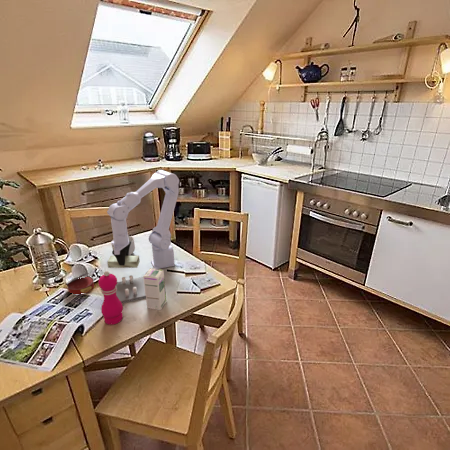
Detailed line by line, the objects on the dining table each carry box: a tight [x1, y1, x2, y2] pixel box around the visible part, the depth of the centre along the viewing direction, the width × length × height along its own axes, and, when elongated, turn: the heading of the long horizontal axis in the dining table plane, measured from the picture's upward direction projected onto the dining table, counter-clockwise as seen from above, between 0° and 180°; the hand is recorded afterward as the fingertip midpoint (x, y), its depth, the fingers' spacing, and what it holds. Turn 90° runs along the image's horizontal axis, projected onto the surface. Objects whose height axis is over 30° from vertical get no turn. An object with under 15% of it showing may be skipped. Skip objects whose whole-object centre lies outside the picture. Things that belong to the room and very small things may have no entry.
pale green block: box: [107, 255, 140, 269], centre depth 133 cm, size 12×5×3 cm, turn 92°
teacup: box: [110, 235, 136, 256], centre depth 156 cm, size 14×11×8 cm
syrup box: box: [142, 267, 167, 311], centre depth 117 cm, size 6×6×14 cm
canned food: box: [65, 272, 95, 294], centre depth 128 cm, size 11×10×10 cm
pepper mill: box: [98, 270, 124, 326], centre depth 108 cm, size 7×7×20 cm
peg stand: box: [116, 274, 146, 304], centre depth 127 cm, size 18×14×4 cm
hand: (123, 261), depth 133 cm, fingers closed on pale green block, 5 cm apart
